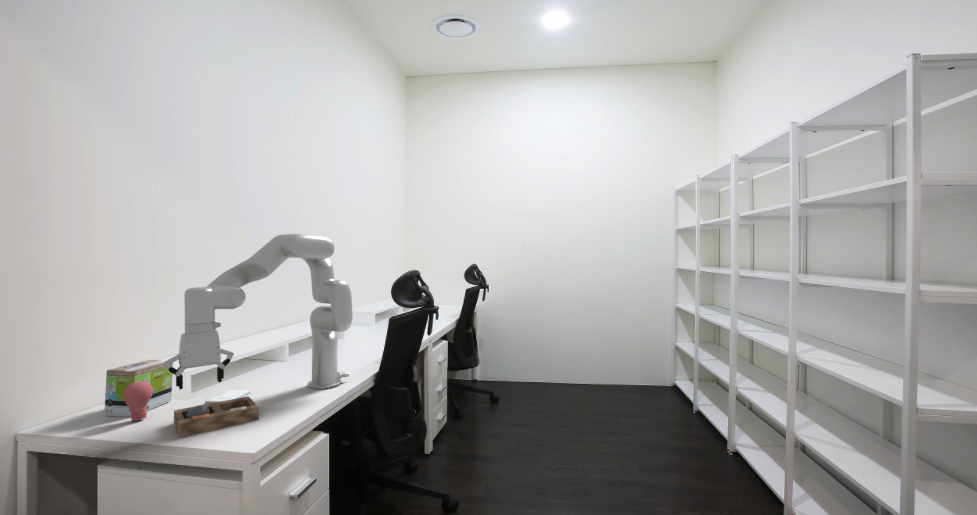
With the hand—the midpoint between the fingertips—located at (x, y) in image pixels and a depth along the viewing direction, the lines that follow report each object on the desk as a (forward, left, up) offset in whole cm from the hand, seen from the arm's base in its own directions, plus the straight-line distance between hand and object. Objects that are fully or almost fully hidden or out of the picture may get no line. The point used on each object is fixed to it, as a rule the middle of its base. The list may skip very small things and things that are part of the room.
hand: (200, 384), depth 123 cm
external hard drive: (-11, -22, -13) cm, 28 cm away
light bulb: (+14, -17, -12) cm, 25 cm away
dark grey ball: (+1, 0, -9) cm, 9 cm away
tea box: (+13, -30, -12) cm, 35 cm away
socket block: (-4, 0, -12) cm, 13 cm away
